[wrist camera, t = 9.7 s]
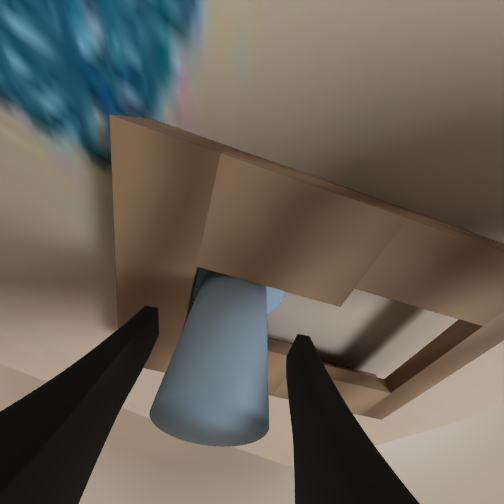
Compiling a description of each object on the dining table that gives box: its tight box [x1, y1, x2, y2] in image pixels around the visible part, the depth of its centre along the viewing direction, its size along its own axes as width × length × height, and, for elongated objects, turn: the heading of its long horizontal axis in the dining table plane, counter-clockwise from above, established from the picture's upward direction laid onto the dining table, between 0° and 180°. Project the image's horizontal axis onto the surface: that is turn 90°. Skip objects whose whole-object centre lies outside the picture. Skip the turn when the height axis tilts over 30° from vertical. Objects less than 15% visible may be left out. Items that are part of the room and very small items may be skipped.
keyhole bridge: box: [110, 115, 504, 420], centre depth 14 cm, size 22×16×3 cm
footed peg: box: [150, 267, 285, 446], centre depth 11 cm, size 6×6×8 cm
